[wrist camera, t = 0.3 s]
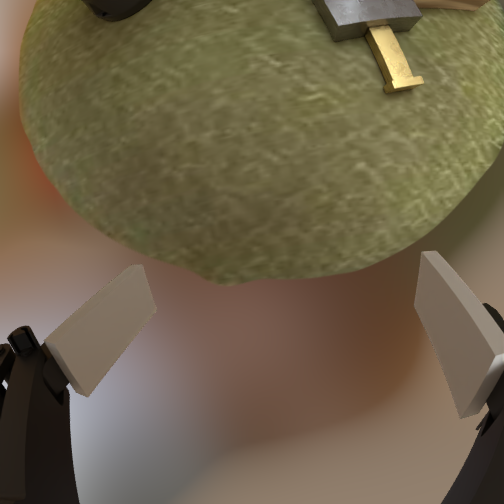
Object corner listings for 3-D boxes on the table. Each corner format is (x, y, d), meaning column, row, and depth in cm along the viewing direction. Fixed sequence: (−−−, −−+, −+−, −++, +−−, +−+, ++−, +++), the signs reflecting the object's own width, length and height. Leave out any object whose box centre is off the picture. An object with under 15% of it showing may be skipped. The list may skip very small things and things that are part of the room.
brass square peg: (357, 30, 26) (361, 19, 22) (384, 26, 25) (391, 15, 21) (385, 93, 29) (394, 88, 25) (412, 88, 28) (424, 83, 24)
